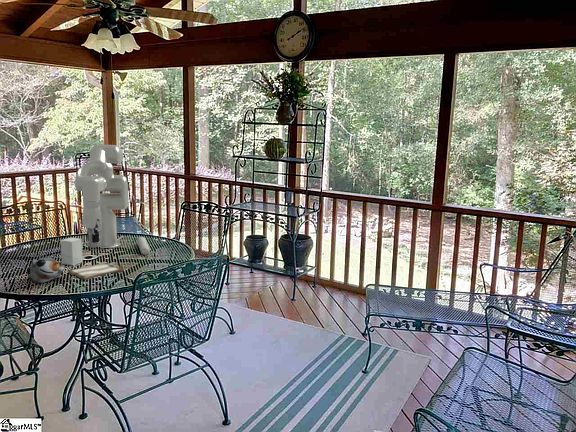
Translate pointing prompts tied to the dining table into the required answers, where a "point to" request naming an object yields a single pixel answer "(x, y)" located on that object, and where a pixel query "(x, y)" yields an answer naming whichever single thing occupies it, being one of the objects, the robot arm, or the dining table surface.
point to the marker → (91, 238)
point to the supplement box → (71, 251)
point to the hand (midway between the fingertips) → (93, 240)
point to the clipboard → (95, 270)
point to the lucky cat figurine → (44, 270)
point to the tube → (143, 246)
